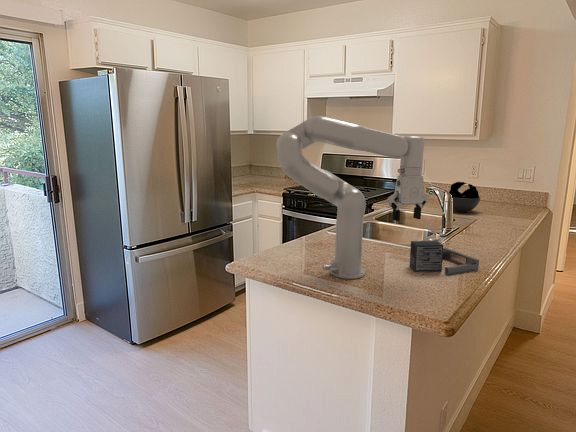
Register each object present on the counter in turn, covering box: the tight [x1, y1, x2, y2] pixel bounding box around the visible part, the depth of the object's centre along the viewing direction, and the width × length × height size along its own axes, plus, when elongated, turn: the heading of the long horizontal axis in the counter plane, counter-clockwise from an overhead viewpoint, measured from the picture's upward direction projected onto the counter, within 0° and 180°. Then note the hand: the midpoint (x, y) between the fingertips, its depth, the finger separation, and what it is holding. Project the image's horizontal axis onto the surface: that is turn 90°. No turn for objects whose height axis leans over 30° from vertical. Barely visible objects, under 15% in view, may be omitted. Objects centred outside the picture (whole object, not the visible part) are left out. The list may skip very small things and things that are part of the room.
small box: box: [408, 240, 445, 273], centre depth 160 cm, size 11×6×10 cm, turn 93°
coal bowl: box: [448, 181, 481, 213], centre depth 266 cm, size 20×20×19 cm
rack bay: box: [442, 247, 480, 276], centre depth 165 cm, size 15×17×4 cm
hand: (406, 219), depth 153 cm, fingers open, 9 cm apart
